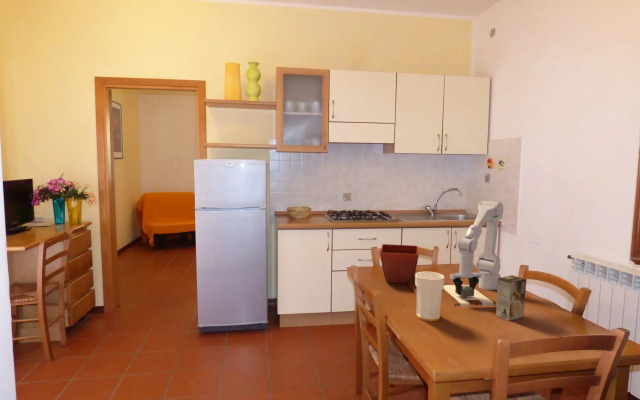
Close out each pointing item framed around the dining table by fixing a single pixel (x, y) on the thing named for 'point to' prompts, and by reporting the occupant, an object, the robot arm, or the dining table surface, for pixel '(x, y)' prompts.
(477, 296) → the shelf board
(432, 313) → the cup
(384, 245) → the plant pot
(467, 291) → the grey square frame
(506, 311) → the coffee box
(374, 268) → the dining table surface
